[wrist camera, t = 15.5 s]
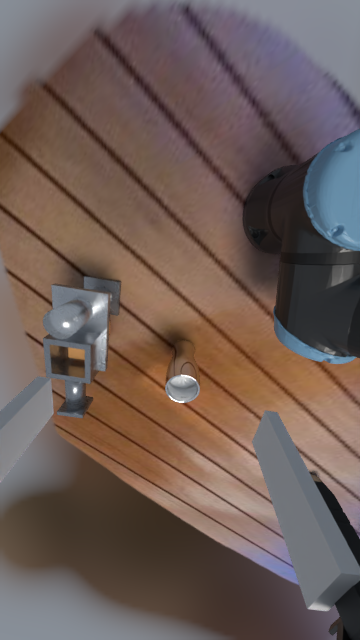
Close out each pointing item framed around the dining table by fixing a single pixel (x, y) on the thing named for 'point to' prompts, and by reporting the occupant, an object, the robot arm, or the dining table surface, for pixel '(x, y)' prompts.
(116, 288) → the metal pedestal stand
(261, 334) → the dining table surface
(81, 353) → the tan wooden block
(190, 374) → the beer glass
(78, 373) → the bracket
